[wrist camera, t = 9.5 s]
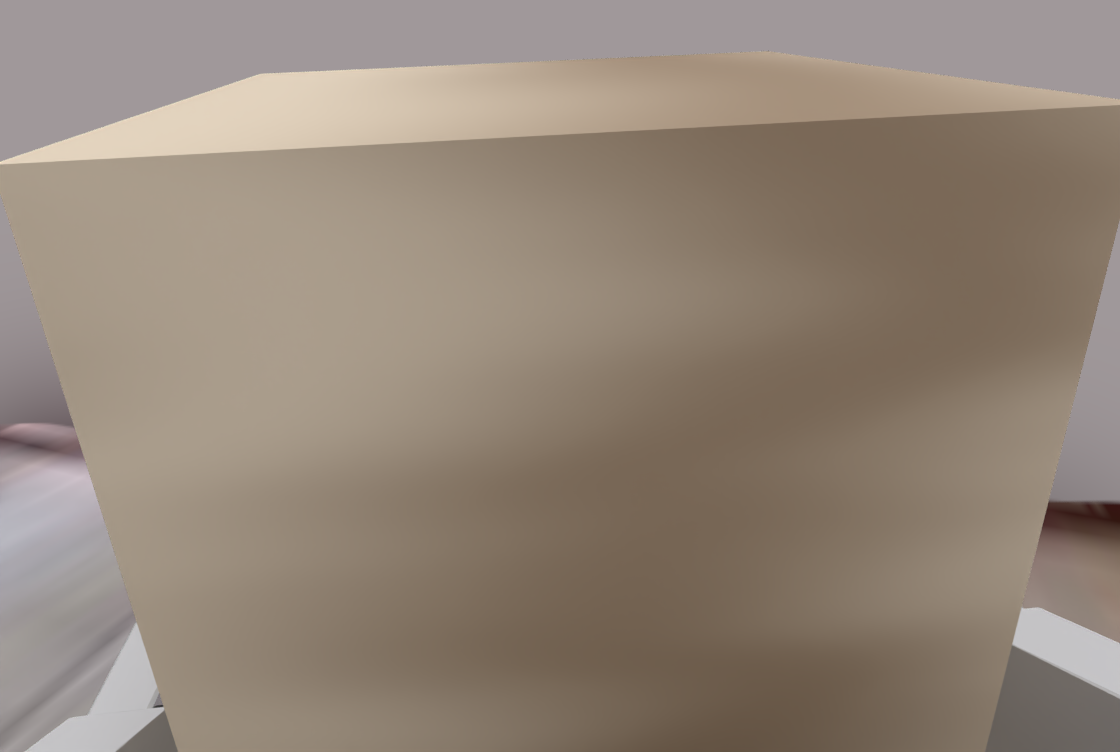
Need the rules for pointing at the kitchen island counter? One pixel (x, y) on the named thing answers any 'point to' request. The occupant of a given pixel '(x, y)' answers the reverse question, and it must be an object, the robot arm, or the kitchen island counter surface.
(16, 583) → the kitchen island counter surface
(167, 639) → the birch pillar
